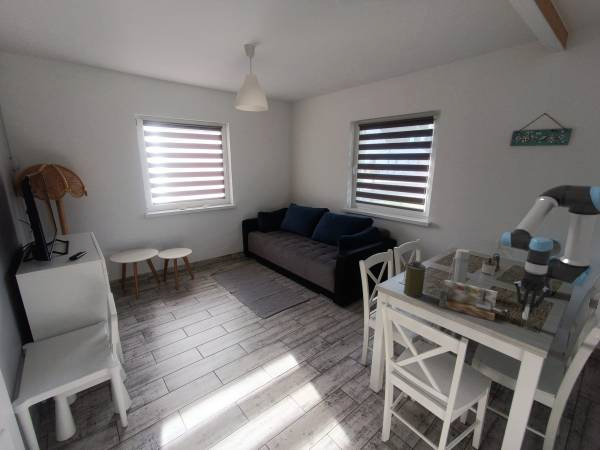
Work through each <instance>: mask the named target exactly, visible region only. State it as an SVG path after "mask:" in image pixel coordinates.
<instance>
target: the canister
mask: <svg viewBox="0 0 600 450" xmlns="http://www.w3.org/2000/svg"><path fill="white" fill-rule="evenodd" d="M404 269H405V272H404V274H403V279H404V286H403V287H404V288H403V294H404V295H405V296H407V297H410V298H414V299H419V298H422V297H423V296H424V294H423V292H424V291H423V290H424V283H425V276H426V275H425V274H426V269H427V266H425V265H424V264H423V263H422V262H421V261H419V260H415V259H414V261H413V262H406V263H405V265H404Z"/></svg>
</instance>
